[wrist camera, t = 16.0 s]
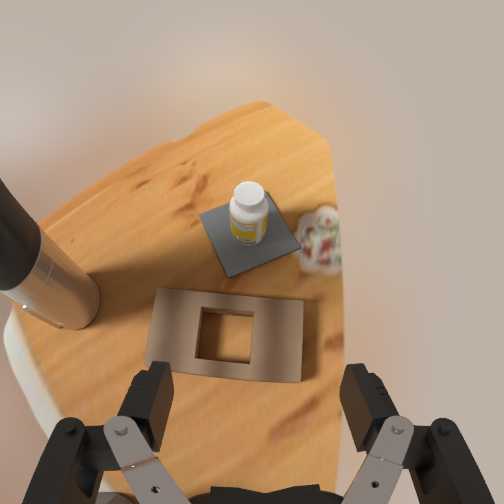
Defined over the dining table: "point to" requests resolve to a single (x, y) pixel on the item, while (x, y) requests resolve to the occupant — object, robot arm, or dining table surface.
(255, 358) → the bottle holder tray
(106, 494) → the coffeepot
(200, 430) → the dining table surface
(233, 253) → the slate pad
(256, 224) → the supplement bottle
